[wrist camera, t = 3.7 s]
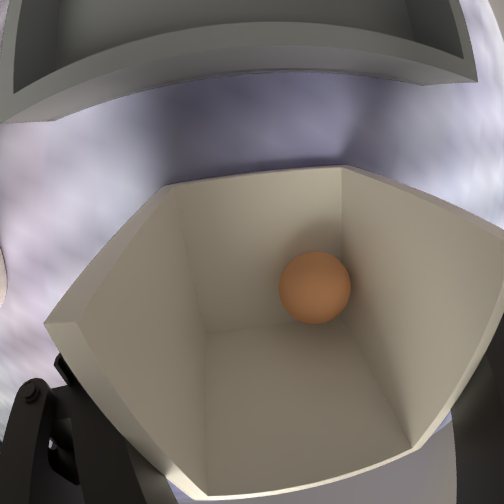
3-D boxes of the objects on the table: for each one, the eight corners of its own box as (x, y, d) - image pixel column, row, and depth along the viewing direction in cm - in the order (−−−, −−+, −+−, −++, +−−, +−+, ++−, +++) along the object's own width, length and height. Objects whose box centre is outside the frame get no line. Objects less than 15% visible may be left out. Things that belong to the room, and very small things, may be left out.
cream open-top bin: (162, 186, 11) (43, 323, 3) (347, 164, 11) (525, 242, 3) (198, 336, 14) (194, 500, 6) (342, 312, 15) (419, 448, 7)
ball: (255, 274, 11) (324, 238, 10) (281, 266, 13) (336, 238, 12) (287, 344, 10) (359, 316, 9) (307, 322, 13) (364, 298, 12)
